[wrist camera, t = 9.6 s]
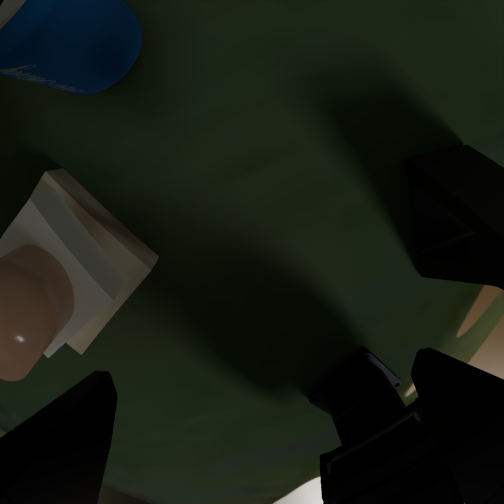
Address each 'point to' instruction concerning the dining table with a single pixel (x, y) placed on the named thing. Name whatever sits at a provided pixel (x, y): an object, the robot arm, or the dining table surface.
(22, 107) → the dining table surface
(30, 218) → the tower top
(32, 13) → the beverage can
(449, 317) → the dining table surface
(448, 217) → the phone stand
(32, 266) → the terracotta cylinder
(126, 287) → the tower base
